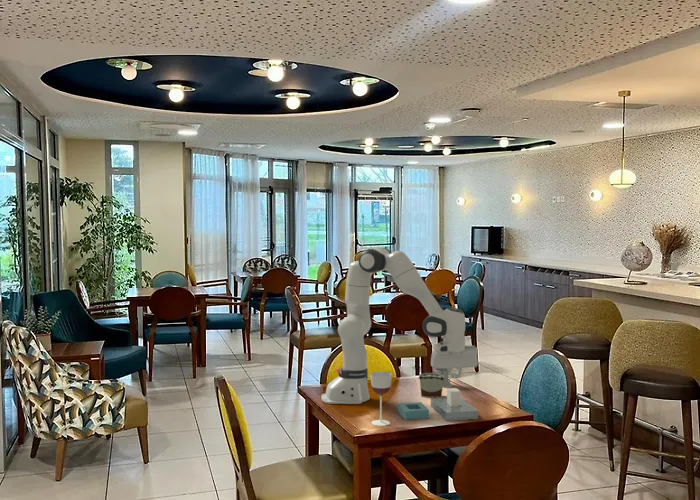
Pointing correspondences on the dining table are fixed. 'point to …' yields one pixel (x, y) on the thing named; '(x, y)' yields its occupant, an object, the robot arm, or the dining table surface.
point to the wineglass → (381, 391)
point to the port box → (454, 410)
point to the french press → (445, 373)
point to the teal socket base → (413, 410)
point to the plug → (453, 397)
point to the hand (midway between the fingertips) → (454, 377)
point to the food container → (431, 384)
